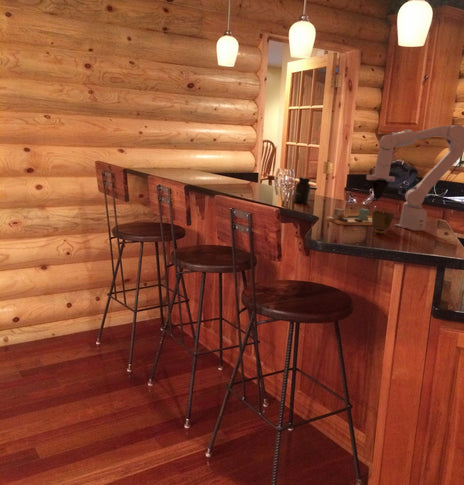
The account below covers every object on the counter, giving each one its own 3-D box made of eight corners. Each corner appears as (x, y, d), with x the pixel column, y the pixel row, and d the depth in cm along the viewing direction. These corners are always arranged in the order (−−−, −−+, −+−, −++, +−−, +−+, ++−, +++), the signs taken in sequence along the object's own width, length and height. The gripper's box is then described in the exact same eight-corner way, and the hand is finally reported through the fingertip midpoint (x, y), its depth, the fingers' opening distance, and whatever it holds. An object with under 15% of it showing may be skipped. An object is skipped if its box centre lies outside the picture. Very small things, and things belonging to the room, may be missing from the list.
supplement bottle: (292, 202, 243) (296, 177, 240) (294, 200, 249) (298, 176, 246) (306, 204, 241) (310, 179, 238) (308, 203, 247) (312, 178, 245)
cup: (374, 230, 194) (378, 209, 192) (392, 235, 189) (397, 213, 187) (365, 232, 188) (369, 210, 186) (384, 237, 183) (388, 214, 182)
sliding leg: (373, 221, 206) (375, 211, 205) (369, 221, 205) (371, 211, 204) (362, 218, 211) (364, 208, 210) (358, 218, 210) (360, 208, 209)
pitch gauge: (385, 225, 210) (387, 212, 209) (342, 225, 197) (344, 211, 196) (367, 219, 218) (369, 207, 217) (324, 219, 205) (326, 206, 204)
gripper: (387, 164, 215) (381, 197, 218) (363, 162, 207) (357, 195, 210) (401, 167, 209) (394, 200, 212) (376, 164, 201) (370, 199, 204)
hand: (376, 198), depth 211 cm, fingers closed
